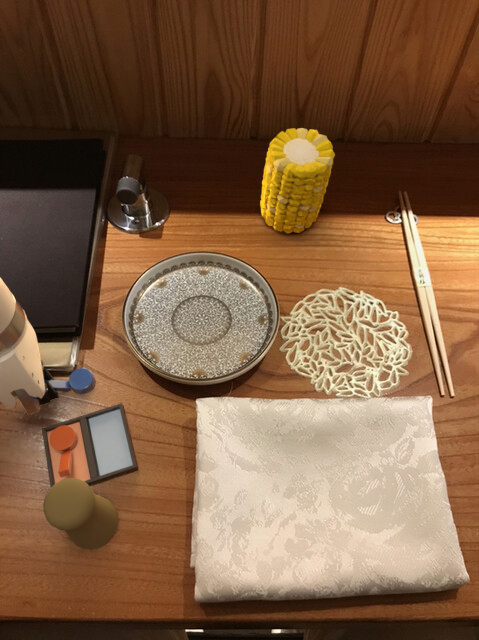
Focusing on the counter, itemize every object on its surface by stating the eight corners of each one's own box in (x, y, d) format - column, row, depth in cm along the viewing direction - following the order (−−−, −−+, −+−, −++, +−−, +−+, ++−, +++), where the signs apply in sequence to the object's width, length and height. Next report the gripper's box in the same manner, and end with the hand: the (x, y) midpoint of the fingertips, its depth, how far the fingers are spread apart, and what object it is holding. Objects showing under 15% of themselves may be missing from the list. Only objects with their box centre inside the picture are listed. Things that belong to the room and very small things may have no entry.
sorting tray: (54, 497, 68) (51, 495, 67) (44, 431, 72) (41, 428, 71) (138, 469, 69) (136, 466, 68) (123, 406, 74) (121, 403, 73)
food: (272, 193, 94) (328, 215, 92) (241, 231, 86) (300, 256, 84) (288, 107, 82) (352, 130, 80) (253, 143, 75) (323, 169, 73)
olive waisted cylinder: (111, 488, 68) (86, 461, 59) (124, 537, 65) (100, 517, 56) (62, 507, 67) (29, 483, 58) (73, 557, 64) (40, 541, 55)
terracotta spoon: (85, 478, 68) (77, 470, 65) (59, 487, 68) (50, 479, 65) (76, 425, 72) (67, 415, 69) (51, 433, 72) (41, 423, 68)
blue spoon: (44, 406, 74) (34, 395, 71) (41, 385, 76) (31, 373, 73) (97, 389, 75) (90, 378, 72) (93, 369, 77) (85, 357, 73)
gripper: (-54, 275, 62) (10, 352, 78) (-46, 398, 54) (24, 456, 70) (14, 257, 63) (64, 336, 79) (31, 375, 55) (83, 437, 71)
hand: (45, 392), depth 74 cm, fingers closed on blue spoon, 1 cm apart
